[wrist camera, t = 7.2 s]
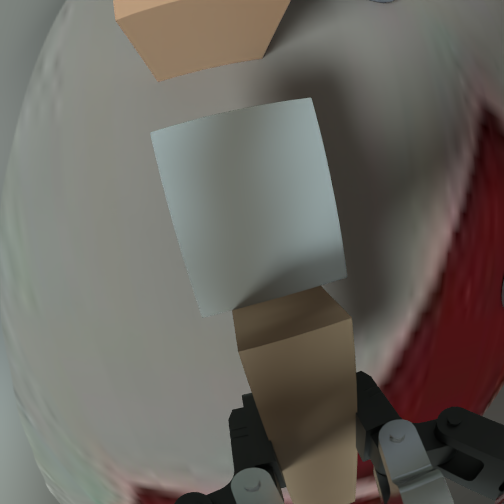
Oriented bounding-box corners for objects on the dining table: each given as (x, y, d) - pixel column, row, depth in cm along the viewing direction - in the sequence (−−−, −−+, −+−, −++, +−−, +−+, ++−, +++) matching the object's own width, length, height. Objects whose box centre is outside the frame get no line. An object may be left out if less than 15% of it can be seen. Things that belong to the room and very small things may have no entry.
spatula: (302, 104, 9) (343, 72, 6) (351, 452, 14) (372, 494, 10) (156, 137, 9) (125, 115, 5) (270, 477, 13) (280, 523, 10)
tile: (254, 33, 14) (284, -47, 6) (262, 58, 14) (298, -15, 6) (153, 56, 13) (112, -15, 6) (158, 82, 14) (115, 20, 6)
